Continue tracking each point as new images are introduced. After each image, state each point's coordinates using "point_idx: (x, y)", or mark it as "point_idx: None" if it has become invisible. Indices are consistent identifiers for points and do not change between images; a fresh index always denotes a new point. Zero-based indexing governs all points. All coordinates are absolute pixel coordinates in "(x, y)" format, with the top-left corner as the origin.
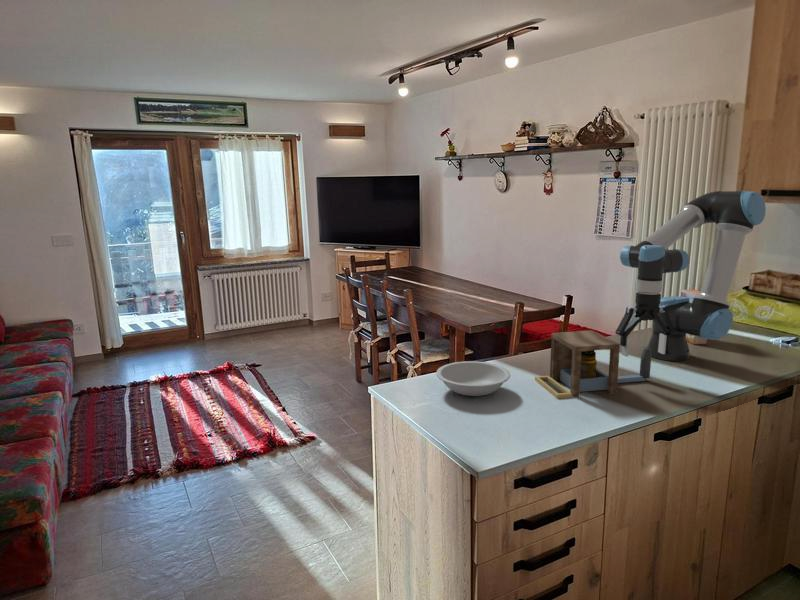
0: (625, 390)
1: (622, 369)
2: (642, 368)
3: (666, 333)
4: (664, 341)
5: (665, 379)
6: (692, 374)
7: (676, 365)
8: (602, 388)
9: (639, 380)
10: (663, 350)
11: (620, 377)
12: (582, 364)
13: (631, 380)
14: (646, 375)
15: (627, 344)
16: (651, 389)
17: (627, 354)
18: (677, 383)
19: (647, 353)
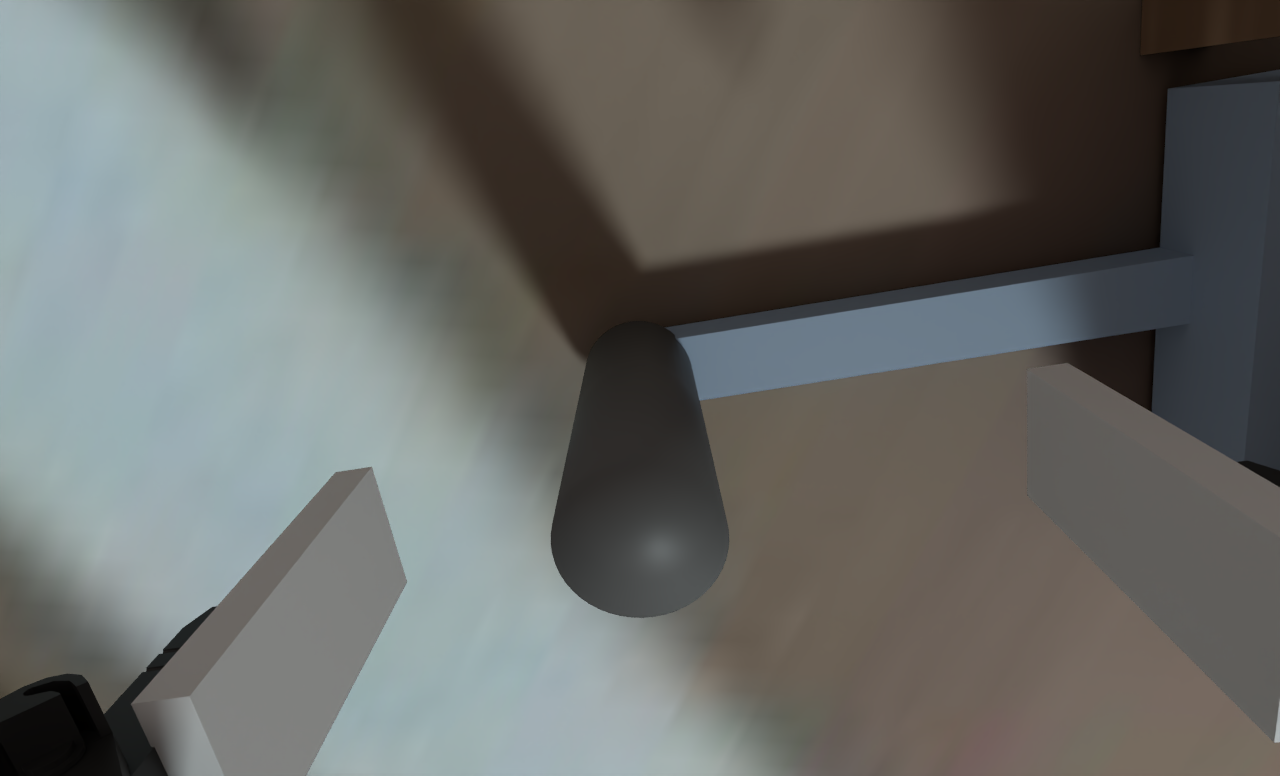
0: (992, 65)
1: (713, 661)
2: (691, 377)
3: (103, 757)
4: (259, 600)
5: (403, 376)
6: (72, 498)
7: None
8: (1276, 70)
9: (712, 322)
10: (343, 499)
11: (944, 327)
12: None
13: (813, 306)
14: (643, 330)
15: (1205, 453)
16: (685, 80)
17: (1059, 375)
18: (321, 252)
19: (659, 433)
